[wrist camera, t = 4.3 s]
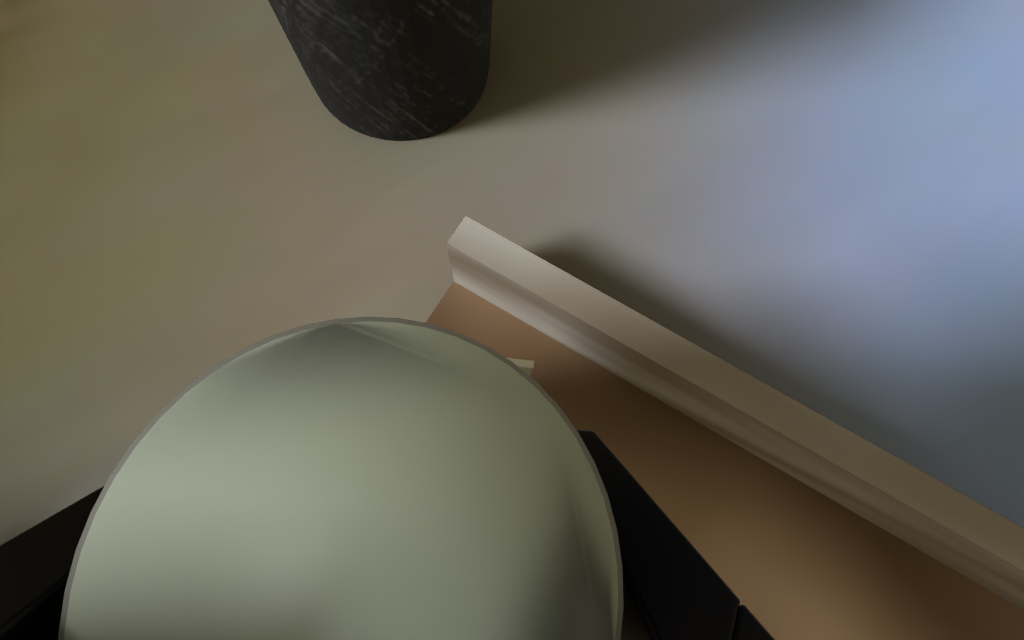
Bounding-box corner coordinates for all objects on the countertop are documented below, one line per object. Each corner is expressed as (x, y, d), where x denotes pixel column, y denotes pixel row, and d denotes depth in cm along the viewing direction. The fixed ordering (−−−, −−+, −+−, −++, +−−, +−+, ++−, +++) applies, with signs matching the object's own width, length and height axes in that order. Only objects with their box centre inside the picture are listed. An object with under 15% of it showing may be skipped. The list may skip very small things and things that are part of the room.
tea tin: (522, 608, 13) (612, 968, 4) (337, 590, 13) (-44, 910, 4) (538, 421, 15) (631, 344, 5) (372, 403, 15) (160, 291, 5)
